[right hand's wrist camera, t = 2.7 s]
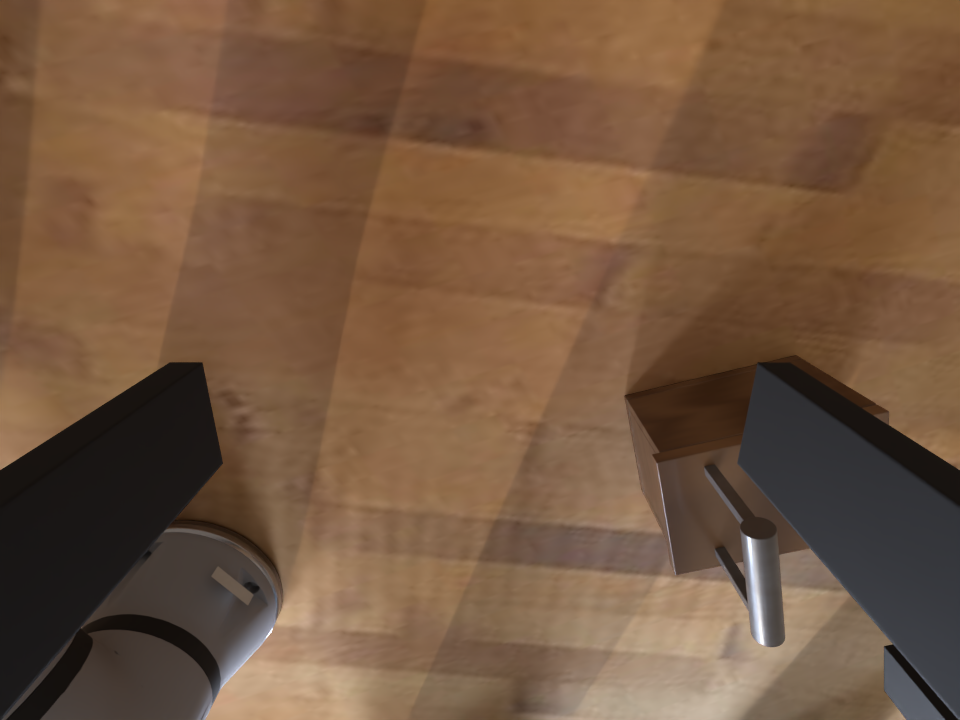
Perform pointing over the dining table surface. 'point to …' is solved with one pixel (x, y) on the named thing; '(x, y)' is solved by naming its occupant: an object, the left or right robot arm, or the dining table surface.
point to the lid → (728, 526)
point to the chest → (700, 416)
